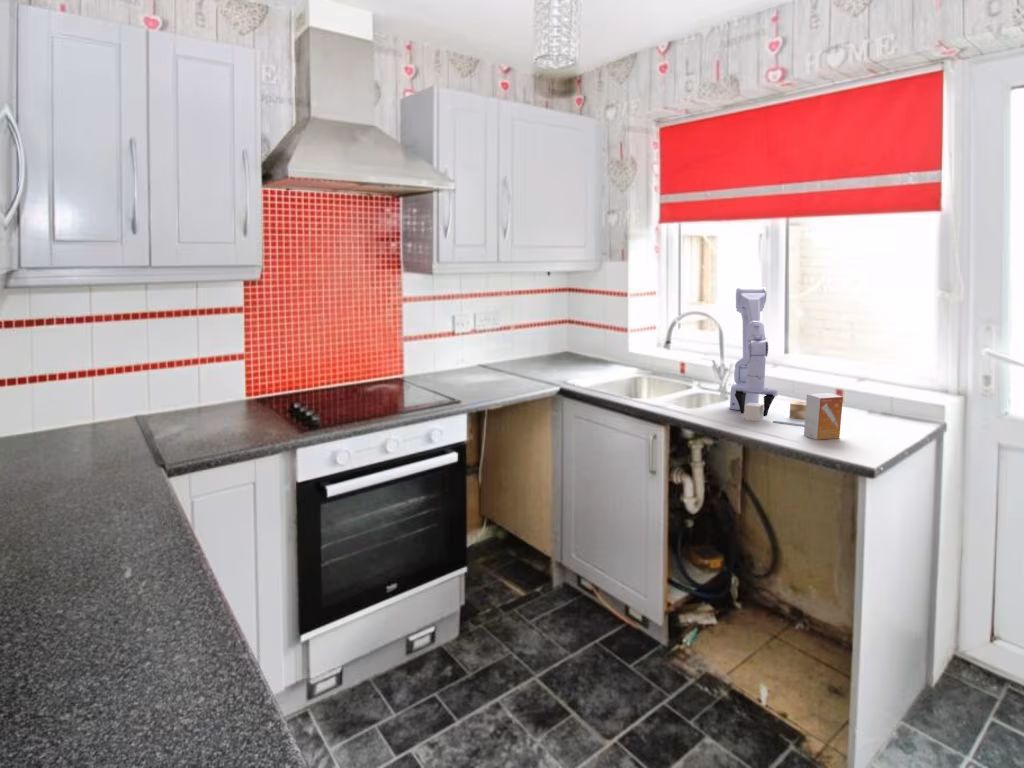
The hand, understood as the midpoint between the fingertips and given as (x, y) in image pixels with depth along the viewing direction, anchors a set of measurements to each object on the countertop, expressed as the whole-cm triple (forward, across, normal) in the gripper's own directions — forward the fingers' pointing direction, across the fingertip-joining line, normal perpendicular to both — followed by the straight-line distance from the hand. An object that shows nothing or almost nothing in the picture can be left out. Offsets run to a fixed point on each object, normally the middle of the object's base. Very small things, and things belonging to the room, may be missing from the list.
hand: (753, 414), depth 224 cm
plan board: (+1, +13, +6) cm, 14 cm away
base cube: (+1, +13, +7) cm, 15 cm away
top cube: (+2, 0, 0) cm, 2 cm away
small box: (+2, +24, -12) cm, 27 cm away
